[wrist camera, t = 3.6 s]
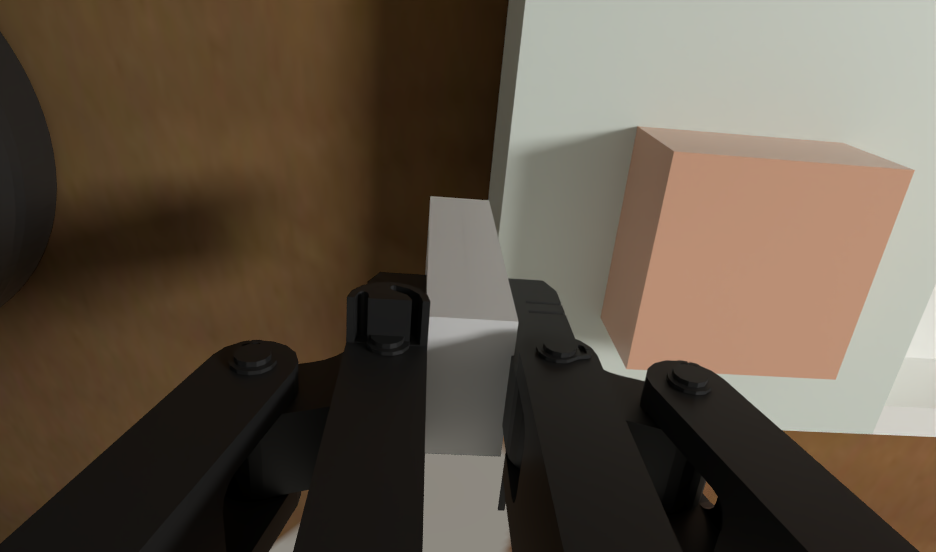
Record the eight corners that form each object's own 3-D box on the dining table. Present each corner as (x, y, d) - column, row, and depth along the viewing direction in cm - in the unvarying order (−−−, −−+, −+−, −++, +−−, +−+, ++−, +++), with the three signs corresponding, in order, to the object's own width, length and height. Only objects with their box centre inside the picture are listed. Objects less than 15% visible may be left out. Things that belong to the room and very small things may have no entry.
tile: (600, 317, 20) (626, 369, 17) (637, 126, 18) (674, 151, 15) (782, 327, 21) (835, 379, 18) (842, 142, 18) (914, 170, 16)
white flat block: (472, 354, 25) (478, 417, 22) (513, -42, 20) (531, -48, 16) (811, 372, 26) (872, 434, 23) (944, 2, 21) (1053, 5, 17)
